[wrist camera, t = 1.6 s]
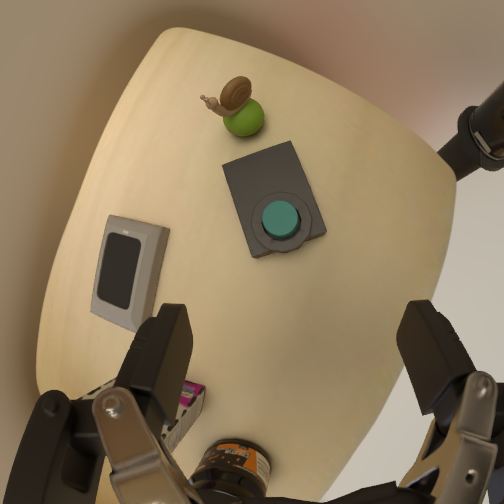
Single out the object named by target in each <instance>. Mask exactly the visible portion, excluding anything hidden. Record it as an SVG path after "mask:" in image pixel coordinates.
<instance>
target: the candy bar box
mask: <svg viewBox="0 0 504 504" xmlns="http://www.w3.org/2000/svg"><path fill="white" fill-rule="evenodd" d="M116 378H117V377H116ZM116 378H114V379H112V380H111V381H109V382H108V383H106V384H104V385H102V386H100V387H98V388H97V389H95V390H93V391H91V392H89V393H88V394H86V395H84V396H82V397H80V398H78V399H77V400H82V399H94V398H95V397H96V396H97V395H98V394H99V393H100V392H101V391H103V390H104V389H106V388H109V387H112V386H113V384H114V382H115V380H116ZM204 391H205V387H204V386H202V385H198V384H195V383H191V382H188V381H185V382H184V386H183V390H182V394H181V398H180V402H179V407H178V411H177V415H176V420H175V424H174V427H171V426H165V425H164V426H163V430H162V434H161V436H162V438H163V440H164V442H165V444H166V445H167V447H168V449H169V451H170V452H171V453H172V452H173V451H174V449H175V448H176V447H177V445H178V444H179V442H180V441H181V440H182V438H183V437H184V436H185V434H186V433H187V431H188V430H189V429H190V427H191V426H192V425H193V423H194V422H195V420H196V419H197V418H198V416H199V415H200V413H201V410H202V403H203V397H204Z"/></svg>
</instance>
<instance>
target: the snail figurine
mask: <svg viewBox="0 0 504 504" xmlns="http://www.w3.org/2000/svg"><path fill="white" fill-rule="evenodd" d="M251 92H252V89H251V82H250V80H249V79H248V78H246V77H243V76H239V77H236V78H234V79H232V80H231V81H229V82H228V83H227V84H226V86H225V87H224V88H223V90H222V92H221V95H220V104H221V105H220V104H219V103H218V100H217V99H216V98H215V97H211V98H208V97H206V98H205V96H204V95H201V96H200V98H201V99H202V100H204V101H205V102H206V107H207V108H208V109H211V110H212V111H213V112H215V113H216V114H218V115H219V116H222V117H223V122H224V124H225V126H226V128H227V129H228V130H229V131H230V132H231V133H233V134H235V135H238V136H249V135H252V134H254V133H256V132H257V131H258V130H259V129H260V128H261V126H262V124H263V122H264V111H263V109H262V107H261V105H260V104H259V103H258V102H257V101H255V100H253V99H251V98H250V96H251Z"/></svg>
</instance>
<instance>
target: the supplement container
mask: <svg viewBox="0 0 504 504" xmlns="http://www.w3.org/2000/svg"><path fill="white" fill-rule="evenodd" d="M270 474H271V462H270V460H269V458H268V456H267V455H266V454H265V453H264V452H263V451H262V450H261V449H260V448H258V447H257V446H255V445H253V444H250V443H248V442H244V441H239V440H224V441H220V442H217V443H215V444H213V445H212V446H210V447H209V448H208V449H207V450H206V452H205V454H204V456H203V458H202V460H201V462H200V463H199V465H198V467H197V468H196V470H195V472H194V473H193V474H192V475H191V476H190V478H189V480H188V481H189V483H190V484H191V485H192V486H193V488H194V489H195V490H196V492H197V493H198V494H199V496H200V497H201V499H202V500H203V501H204V503H205V504H231V503H235V502H241V501H242V497H266V492H267V487H268V482H269V477H270Z"/></svg>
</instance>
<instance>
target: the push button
mask: <svg viewBox="0 0 504 504" xmlns="http://www.w3.org/2000/svg"><path fill="white" fill-rule="evenodd" d="M262 222H263V225H264V227H265V228H266V230H267V231H268V232H269V233H270V234H271V235H272V236H274V237H277V238H286V237H289V236H291V235H292V234H293V233H294V232H295V231H296V229H297V226H298V214H297V211H296V209H295V208H294V206H293V205H292V204H290V203H289V202H286V201H282V200H278V201H274V202H272V203H270V204H269V205H268V206H267V207H266V208H265V209H264V212H263V215H262Z"/></svg>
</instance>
